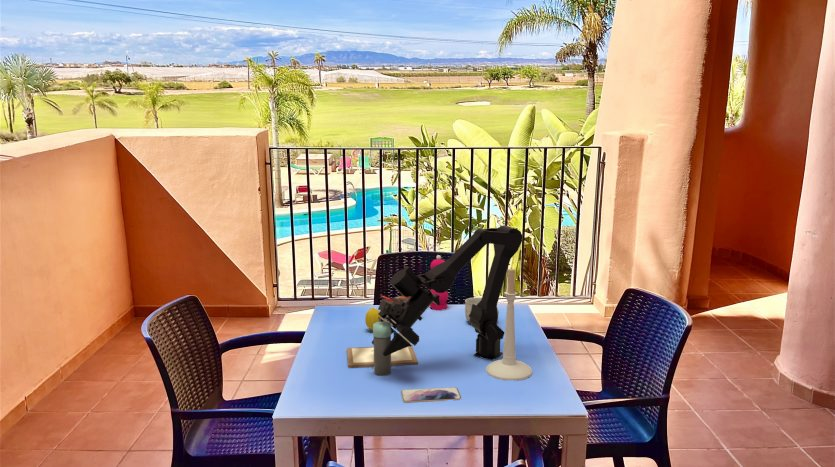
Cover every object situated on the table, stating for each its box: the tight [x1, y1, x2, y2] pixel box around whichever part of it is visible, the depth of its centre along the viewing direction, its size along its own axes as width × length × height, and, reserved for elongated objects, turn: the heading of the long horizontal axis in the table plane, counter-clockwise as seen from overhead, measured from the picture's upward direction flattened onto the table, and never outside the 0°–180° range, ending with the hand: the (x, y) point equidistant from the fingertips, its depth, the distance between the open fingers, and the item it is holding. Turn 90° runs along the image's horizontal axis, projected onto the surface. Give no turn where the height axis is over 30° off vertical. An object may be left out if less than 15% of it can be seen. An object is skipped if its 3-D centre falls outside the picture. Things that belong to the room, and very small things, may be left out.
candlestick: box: [485, 267, 533, 382], centre depth 183 cm, size 13×13×30 cm
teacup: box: [464, 297, 500, 323], centre depth 226 cm, size 14×11×8 cm
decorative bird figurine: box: [380, 295, 410, 304], centre depth 236 cm, size 3×18×10 cm, turn 58°
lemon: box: [364, 307, 381, 331], centre depth 219 cm, size 6×6×8 cm
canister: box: [372, 322, 392, 377], centre depth 184 cm, size 5×5×14 cm
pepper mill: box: [429, 254, 449, 311], centre depth 244 cm, size 7×7×20 cm
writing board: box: [346, 345, 419, 369], centre depth 197 cm, size 20×14×1 cm
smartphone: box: [400, 386, 462, 404], centre depth 171 cm, size 7×1×15 cm
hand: (378, 349), depth 184 cm, fingers open, 9 cm apart
